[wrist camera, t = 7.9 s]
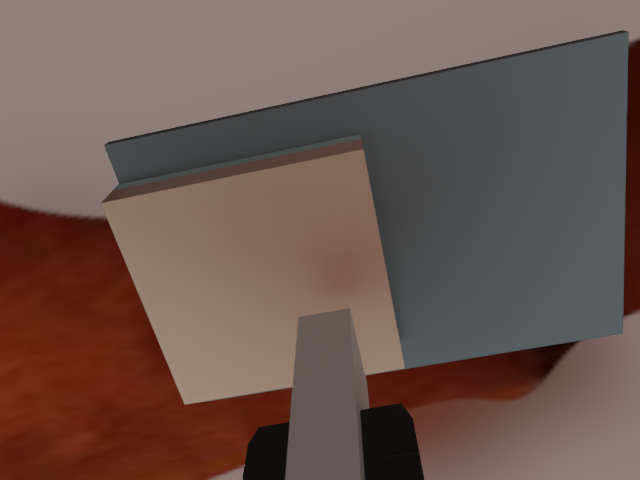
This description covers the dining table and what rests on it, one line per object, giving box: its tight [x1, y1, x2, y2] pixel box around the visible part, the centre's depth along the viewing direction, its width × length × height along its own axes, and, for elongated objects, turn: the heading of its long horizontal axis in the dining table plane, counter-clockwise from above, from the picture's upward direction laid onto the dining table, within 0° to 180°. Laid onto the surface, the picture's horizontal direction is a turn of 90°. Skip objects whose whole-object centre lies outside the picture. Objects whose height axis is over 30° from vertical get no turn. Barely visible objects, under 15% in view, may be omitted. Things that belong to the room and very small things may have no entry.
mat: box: [104, 31, 628, 402], centre depth 22 cm, size 18×12×1 cm, turn 102°
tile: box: [101, 134, 405, 404], centre depth 21 cm, size 2×9×9 cm
